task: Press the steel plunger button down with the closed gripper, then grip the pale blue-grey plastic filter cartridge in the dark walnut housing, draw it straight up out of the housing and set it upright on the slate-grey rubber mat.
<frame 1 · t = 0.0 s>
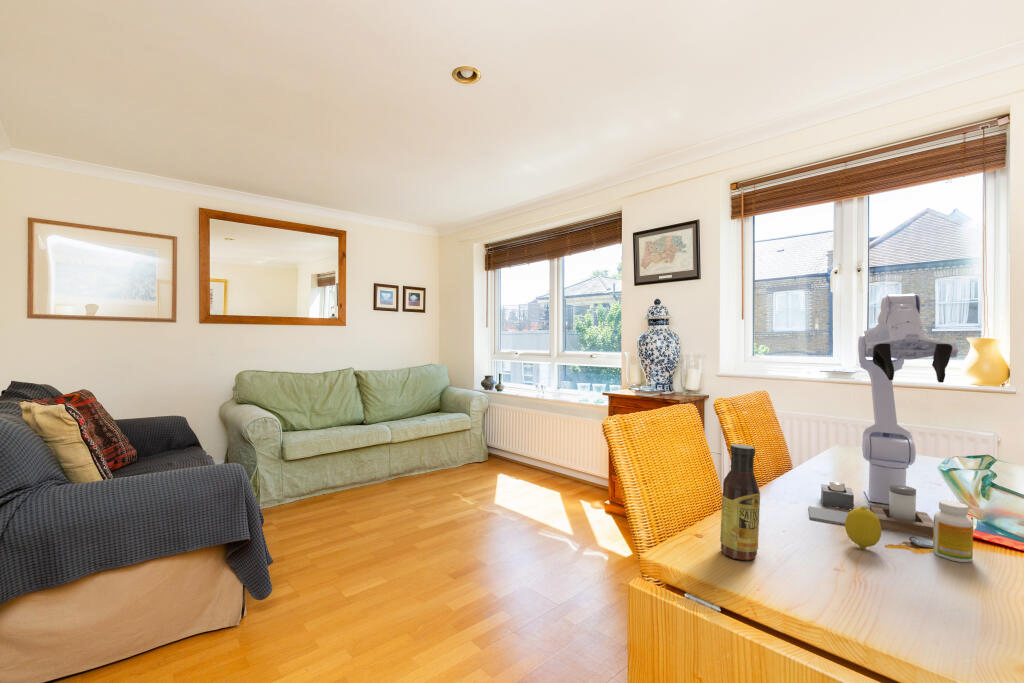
hand: (916, 377, 94), 32 cm above the table, tool tilted 50°, fingers open, 7 cm apart
supplement bottle: (952, 557, 88), on the table
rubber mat: (830, 517, 107), on the table
filter cartridge: (902, 506, 103), in the walnut housing
plunger collar: (836, 504, 115), on the table
walnut housing: (901, 524, 103), on the table
sauce bottle: (739, 555, 88), on the table
lemon: (862, 549, 91), on the table
plunger button: (837, 489, 115), point 3 cm above the table, slide at 0.0 cm
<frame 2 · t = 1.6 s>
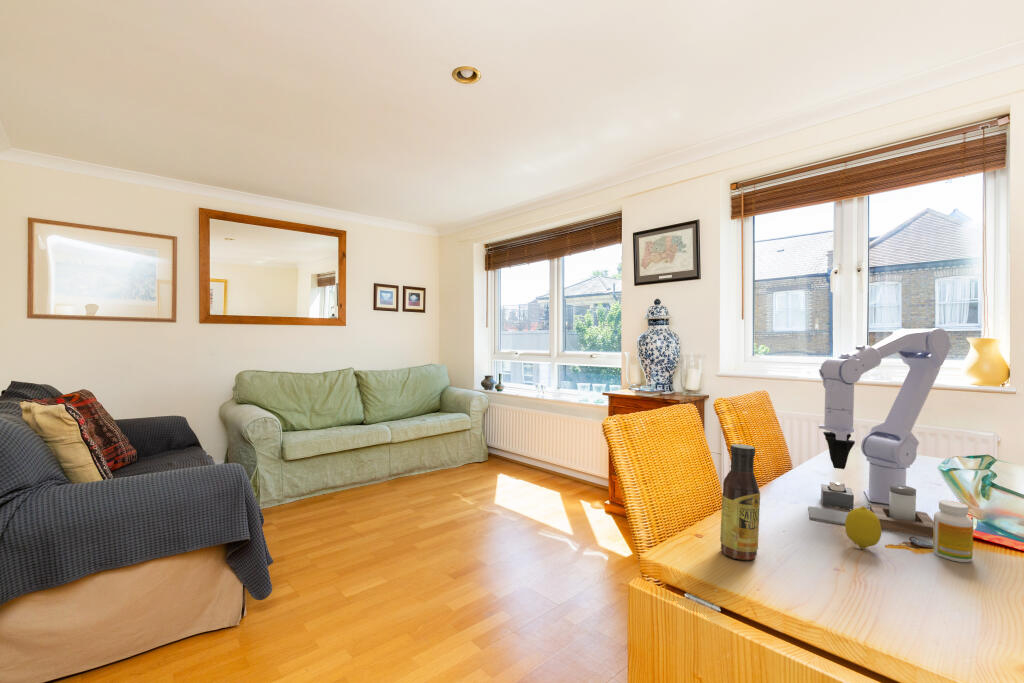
hand: (837, 465, 115), 9 cm above the table, tool pointing down, fingers open, 6 cm apart
nothing on the table moved.
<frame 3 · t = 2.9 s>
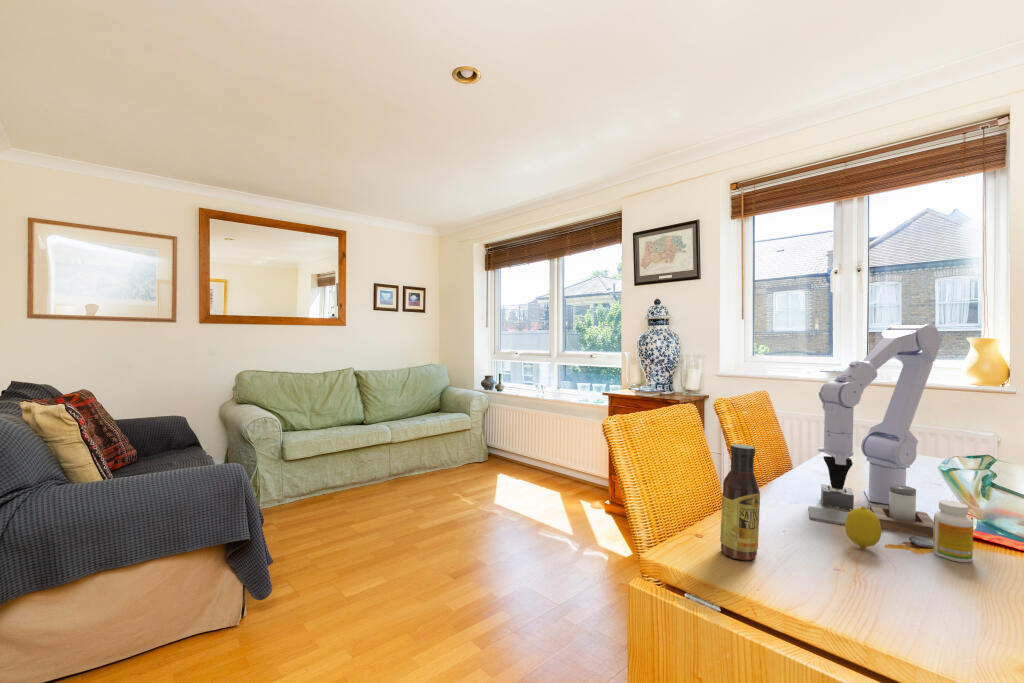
hand: (836, 488, 115), 4 cm above the table, tool pointing down, fingers closed, pressing on plunger button
plunger button: (836, 494, 115), point 2 cm above the table, slide at 1.1 cm, touching gripper
everything else where it was.
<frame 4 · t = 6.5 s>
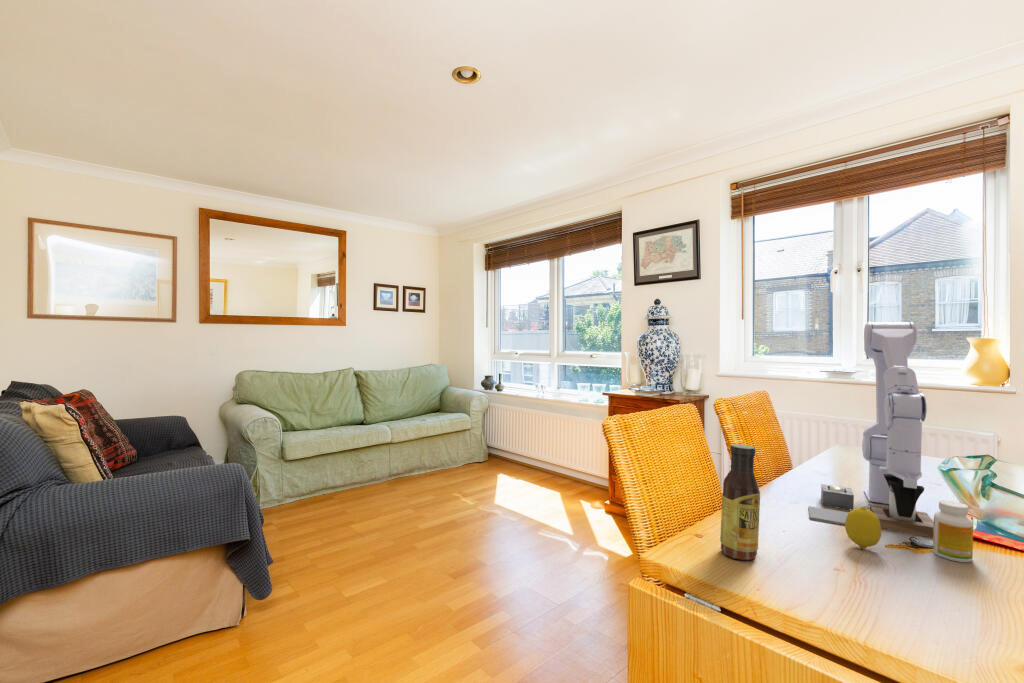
hand: (902, 512, 103), 3 cm above the table, tool pointing down, fingers closed on filter cartridge, 4 cm apart
filter cartridge: (902, 506, 103), in the walnut housing, touching gripper
plunger button: (836, 494, 115), point 2 cm above the table, slide at 1.1 cm
everything else where it was.
when the fingers open (5 cm above the table, at t = 12.1 s): filter cartridge drops 1 cm, resting on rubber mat.
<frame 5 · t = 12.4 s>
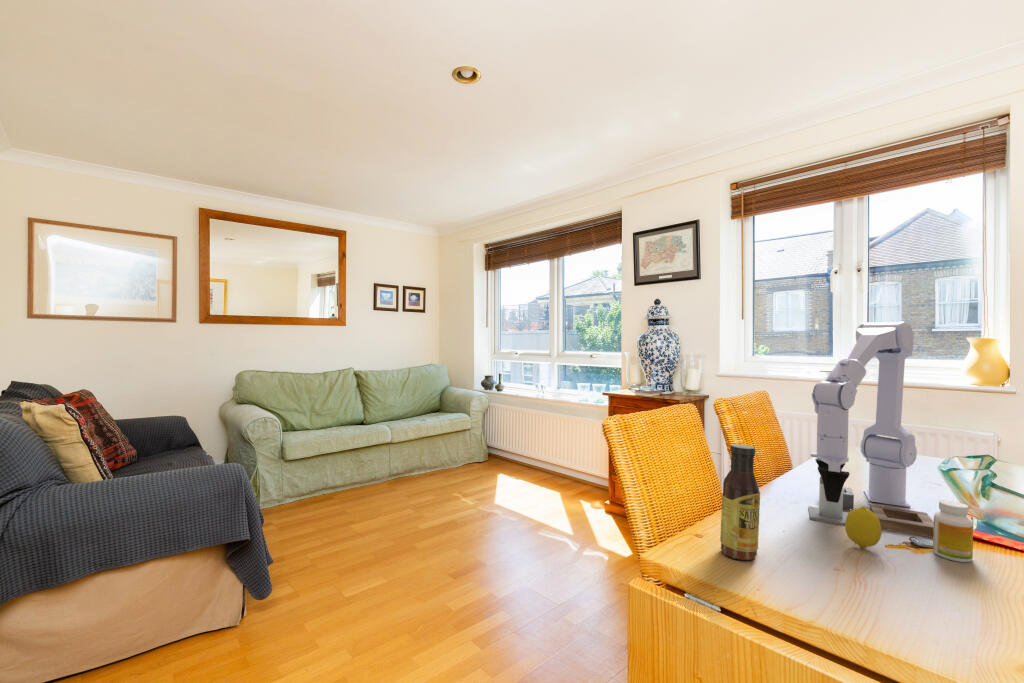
hand: (830, 496, 107), 5 cm above the table, tool pointing down, fingers open, 7 cm apart
filter cartridge: (831, 497, 107), on the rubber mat
everything else where it was.
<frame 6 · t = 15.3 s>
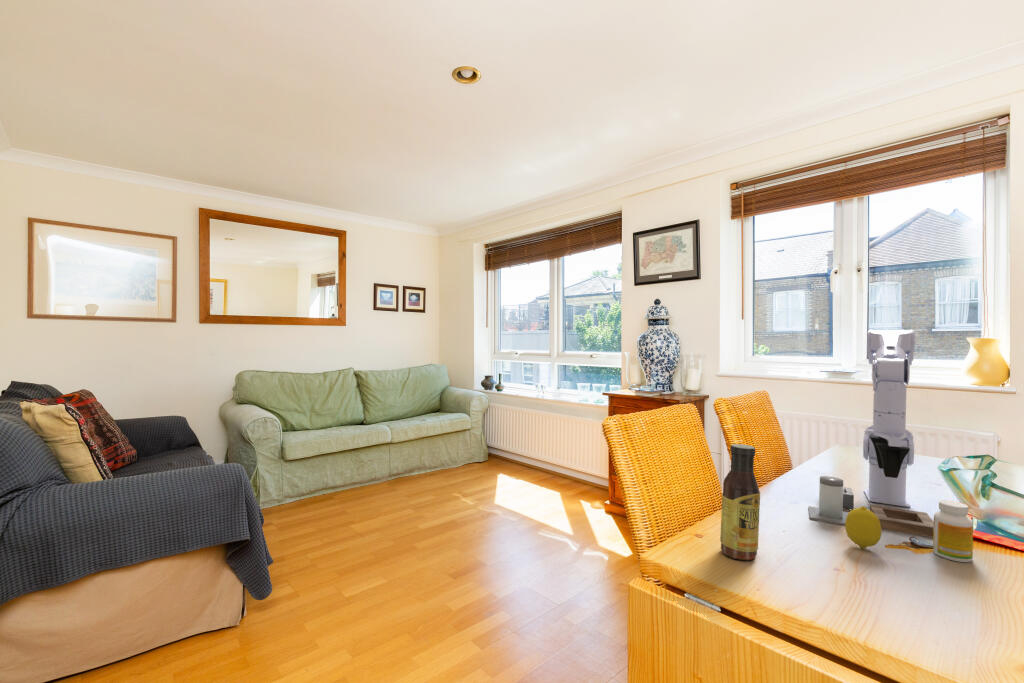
hand: (887, 472, 107), 10 cm above the table, tool pointing down, fingers open, 7 cm apart
nothing on the table moved.
at the end: plunger button slide at 1.1 cm; filter cartridge 0.0 cm off-centre on the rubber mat, point 4.5 cm above the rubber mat's base; filter cartridge tilted 0° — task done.
